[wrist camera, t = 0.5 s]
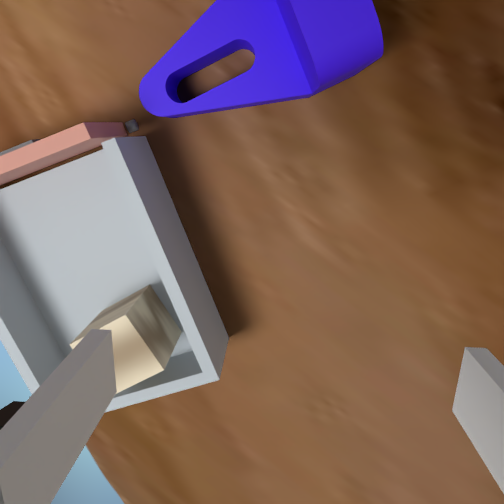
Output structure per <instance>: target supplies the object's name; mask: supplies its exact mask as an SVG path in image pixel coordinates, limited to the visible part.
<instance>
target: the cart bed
mask: <svg viewBox="0 0 504 504" xmlns="http://www.w3.org/2000/svg"><path fill="white" fill-rule="evenodd" d="M125 126H126V128H127V130H128V132H129V133H132V132H134V131H137V130H139V127H138V124H137V122H136V120H135V119H133V120H130V121H128V122H125ZM101 144H102V146H103V149H102V150H100V151H97V152H95V153H92V154H89V155H87V156H84V157H82V158H79V159H77V160H74V161H72V162H69V163H67V164H64V165H61V166H59V167H56V168H54V169H51V170H49V171H46V172H44V173H41V174H38V175H36V176H33V177H31V178H28V179H26V180H23V181H21V182H18V183H15V184H13V185H10V186H8V187H5V188H3V189H0V340H1V341H2V343H3V345H4V347H5V349H6V350H7V352H8V354H9V355H10V357H11V359H12V361H13V362H14V364H15V366H16V367H17V369H18V371H19V373H20V374H21V376H22V378H23V379H24V381H25V383H26V385H27V386H28V388H29V390H30V392H31V393H32V394H33V393H34V392H35V391H36V390H37V389H38V388H39V387H40V386H41V384H42V383H43V382H44V381H45V380H46V379H47V378H48V377H49V376H50V374H51V373H52V372H53V371H54V370H55V369H56V368H57V367H58V366H59V364H60V363H61V362H62V361H63V360H64V359H65V358H66V357H67V356H68V354H69V353H70V352H71V351H72V350H73V349H72V348H71V346H70V343H71V342H72V341H73V340H74V339H75V338H76V337H77V336H78V335H79V334H80V333H81V332H82V331H83V330H84V329H85V328H86V327H87V326H88V325H89V324H90V323H91V322H92V321H93V320H94V318H95V317H96V316H97V315H98V314H99V313H100V312H101V311H102V310H104V309H106V308H108V307H109V306H111V305H113V304H115V303H117V302H119V301H120V300H122V299H124V298H126V297H128V296H130V295H131V294H133V293H135V292H137V291H139V290H141V289H142V288H144V287H146V286H148V285H151V287H152V288H153V290H154V291H155V293H156V294H157V296H158V297H159V299H160V300H161V302H162V303H163V305H164V306H165V308H166V309H167V311H168V312H169V314H170V315H171V317H172V318H173V320H174V321H175V322H176V324H177V325H178V327H179V328H180V330H181V331H182V333H181V335H180V337H179V339H178V341H177V344H176V346H175V348H174V350H173V352H172V354H171V356H170V359H169V361H168V363H167V365H166V367H165V369H164V370H163V371H161V372H159V373H157V374H155V375H153V376H151V377H149V378H147V379H145V380H143V381H141V382H139V383H137V384H135V385H133V386H131V387H129V388H127V389H125V390H123V391H121V392H119V393H117V394H115V396H114V397H113V399H112V401H111V402H110V404H109V406H108V407H107V409H106V411H105V412H108V411H111V410H115V409H118V408H122V407H125V406H129V405H132V404H136V403H140V402H143V401H147V400H150V399H154V398H157V397H161V396H164V395H168V394H171V393H175V392H178V391H182V390H185V389H189V388H192V387H196V386H199V385H203V384H207V383H210V382H214V381H217V380H219V379H220V375H221V371H222V366H223V362H224V357H225V353H226V348H227V344H228V340H229V337H228V334H227V332H226V330H225V327H224V325H223V322H222V320H221V317H220V315H219V313H218V310H217V308H216V305H215V303H214V301H213V298H212V296H211V293H210V291H209V288H208V286H207V284H206V281H205V279H204V276H203V274H202V271H201V269H200V267H199V264H198V262H197V259H196V257H195V255H194V252H193V250H192V247H191V245H190V242H189V240H188V238H187V235H186V233H185V230H184V228H183V225H182V223H181V221H180V218H179V216H178V213H177V211H176V209H175V206H174V204H173V201H172V199H171V196H170V194H169V192H168V189H167V187H166V184H165V182H164V179H163V177H162V175H161V172H160V170H159V167H158V165H157V163H156V160H155V158H154V155H153V153H152V150H151V148H150V146H149V143H148V141H147V138H146V136H136V137H116V138H112V139H110V140H107V141H104V142H102V143H101Z"/></svg>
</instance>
